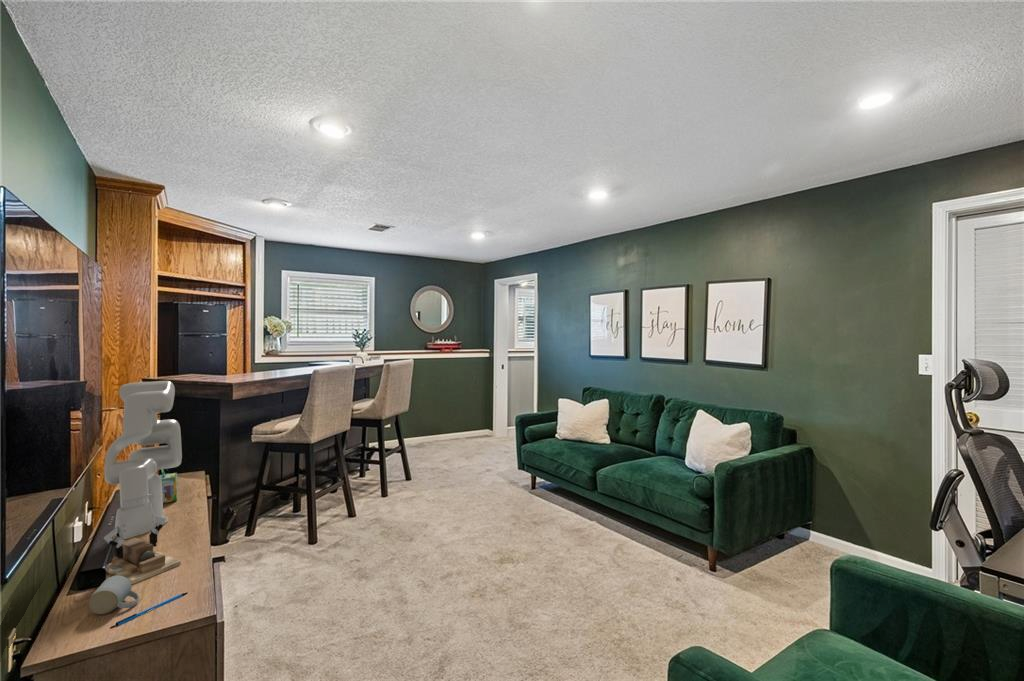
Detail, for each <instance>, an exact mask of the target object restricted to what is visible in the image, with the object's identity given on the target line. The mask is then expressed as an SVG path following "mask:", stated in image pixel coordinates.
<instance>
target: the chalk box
mask: <svg viewBox="0 0 1024 681" xmlns="http://www.w3.org/2000/svg"><path fill="white" fill-rule="evenodd" d="M160 472H161V474H158V475H159V476H160V478H161V480H162V498H163V504H166V503H172V502H176V501H178V498H179V486H178V485H179V483H178V482H179V481H178V472H173V473H166V472H165V469H161V471H160Z"/></svg>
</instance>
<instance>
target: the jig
mask: <svg viewBox="0 0 1024 681" xmlns="http://www.w3.org/2000/svg"><path fill="white" fill-rule="evenodd" d="M153 552H154V554H155V557H154V558H151V559H148V560H146V561H143V562H140V563H139V568H138V567H137V566H135V565H133V564H130V563H128V562H126V561H124V560H122V559H119V558H117V557H114V558H111V562H110V563H107V564H108V567H107V571H108V572H107V573H109V574H111V575H112V576H123V577H125V578H127V579H128V580H129V581H130V582H131V585H134V584H136V583H139V582H141V581H143V580H144V581H145V580H146V579H149V578H151V577H153V576H156V575H159V574H161V573H163V572H166V571H169V570H171V569H173V568H175V567H178V566H180V565H182V564H181V560H179V559H177V558H174V557H172V556H170V555H168V554H165V553H162V552H160V551H157V550H155V549H153Z"/></svg>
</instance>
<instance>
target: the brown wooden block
mask: <svg viewBox="0 0 1024 681" xmlns="http://www.w3.org/2000/svg"><path fill="white" fill-rule="evenodd" d="M121 546H122V547H123V558H122V560H124V561H126V562H128V563H130V564H133V565H135V566H137V567H138V568H139V563H140V562H143V561H146V560H148V559H151V558H154V557H155V554H154V552H153V550H154V547H153V544H150V542H148V541H145V540H143V539H141V538H138V537H137V536H135V537H132V538H129V539H125V541H124V542H123V543H122V545H121Z"/></svg>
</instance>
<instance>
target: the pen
mask: <svg viewBox="0 0 1024 681" xmlns="http://www.w3.org/2000/svg"><path fill="white" fill-rule="evenodd" d="M187 594H189V593H188V592H183V593H180V594H178V595H175V596H173V597H171V598H169V599H167V600H165V601H163V602H160V603H159V604H158V603H157V604H156V605H154V606H151V607H149V608H147V609H145V610H143V611H140V612H138V613H134V614H132V615H130V616H127V617H125V618H123V619H121V620H119V621H117V622H116V623H115V625H111V626H110V627H109V628H110V629H113V628H115V627H118V626H121V625H123V624H125V623H127V622H129V621H131V620H134V619H136V618H138V617H140V616H142V615H144V614H143V613H145V612H147V611H149V610H151V609H153V608H156V607H158V608H160V607H162V606H164V605H166V604H168V603H171V602H174V601H175V600H177V599H180V598H181V597H184V596H185V595H187ZM159 606H160V607H159ZM156 609H157V608H156ZM153 610H154V609H153ZM151 611H152V610H151ZM149 612H150V611H149ZM147 613H148V612H147ZM141 614H142V615H141ZM145 614H146V613H145ZM139 615H140V616H139ZM137 616H138V617H137ZM135 617H136V618H135Z"/></svg>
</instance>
